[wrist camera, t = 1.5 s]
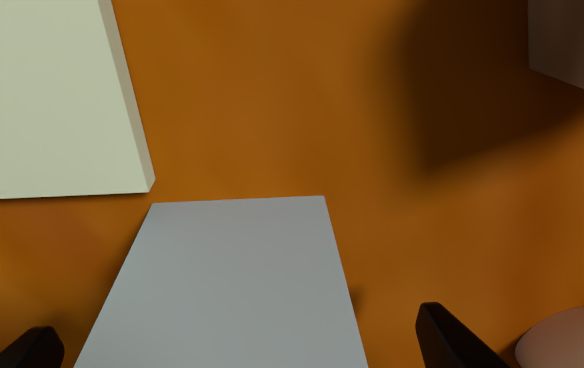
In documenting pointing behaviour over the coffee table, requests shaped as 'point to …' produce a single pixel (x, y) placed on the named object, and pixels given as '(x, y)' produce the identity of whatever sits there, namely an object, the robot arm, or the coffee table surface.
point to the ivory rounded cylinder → (554, 342)
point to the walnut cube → (557, 39)
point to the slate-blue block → (229, 291)
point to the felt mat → (67, 103)
